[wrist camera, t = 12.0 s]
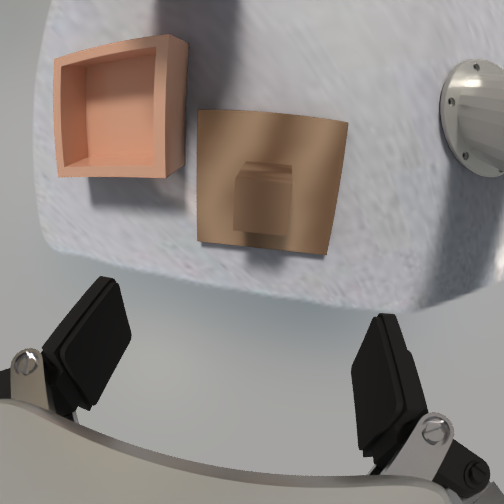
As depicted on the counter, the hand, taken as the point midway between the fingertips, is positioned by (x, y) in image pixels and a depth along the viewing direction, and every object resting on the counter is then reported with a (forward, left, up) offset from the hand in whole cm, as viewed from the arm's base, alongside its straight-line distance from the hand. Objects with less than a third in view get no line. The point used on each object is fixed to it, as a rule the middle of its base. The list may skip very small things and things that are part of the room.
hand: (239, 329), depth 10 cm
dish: (+14, -7, -20) cm, 25 cm away
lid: (0, 0, -19) cm, 19 cm away
